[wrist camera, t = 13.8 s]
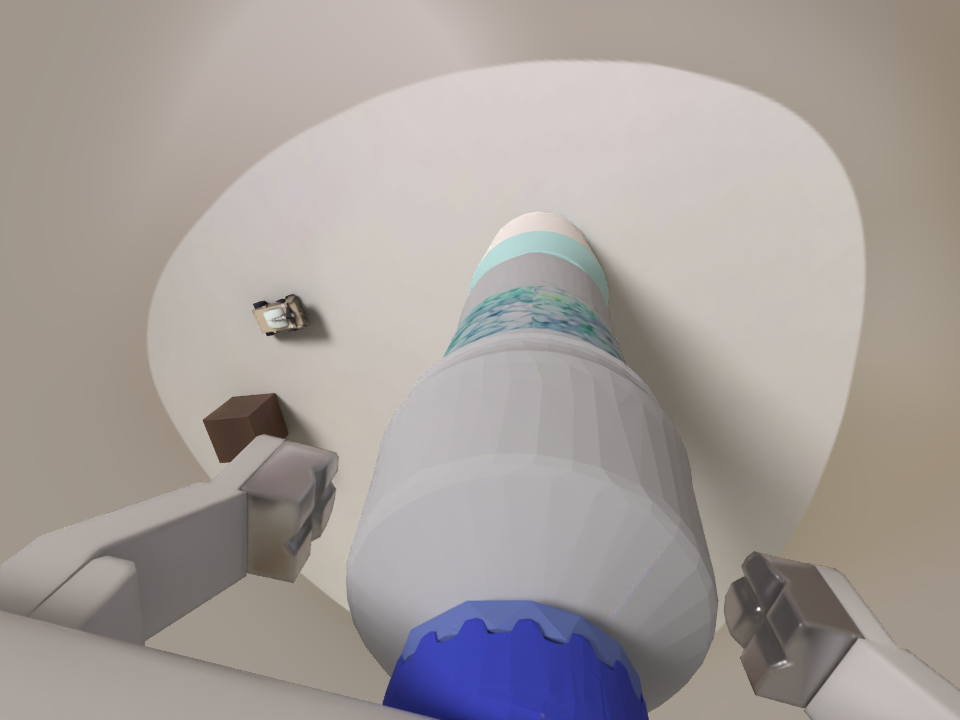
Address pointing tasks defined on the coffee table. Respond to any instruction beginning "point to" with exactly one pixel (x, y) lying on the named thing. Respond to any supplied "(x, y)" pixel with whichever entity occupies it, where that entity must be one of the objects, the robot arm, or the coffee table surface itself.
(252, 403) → the walnut block
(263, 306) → the toy car
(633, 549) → the bottle
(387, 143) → the coffee table surface
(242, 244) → the coffee table surface
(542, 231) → the can
